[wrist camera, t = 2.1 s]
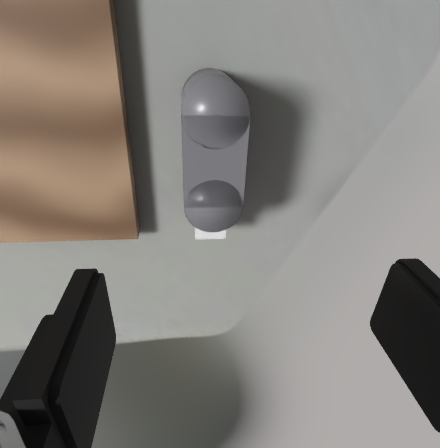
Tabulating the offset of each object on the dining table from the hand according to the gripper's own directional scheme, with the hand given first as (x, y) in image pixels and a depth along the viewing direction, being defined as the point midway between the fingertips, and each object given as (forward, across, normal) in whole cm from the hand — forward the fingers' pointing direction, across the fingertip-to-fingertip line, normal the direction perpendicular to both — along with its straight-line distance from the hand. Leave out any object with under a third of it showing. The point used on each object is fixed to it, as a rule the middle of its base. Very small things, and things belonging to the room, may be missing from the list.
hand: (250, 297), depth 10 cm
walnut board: (+16, +12, -3) cm, 21 cm away
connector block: (+17, 0, -1) cm, 17 cm away
